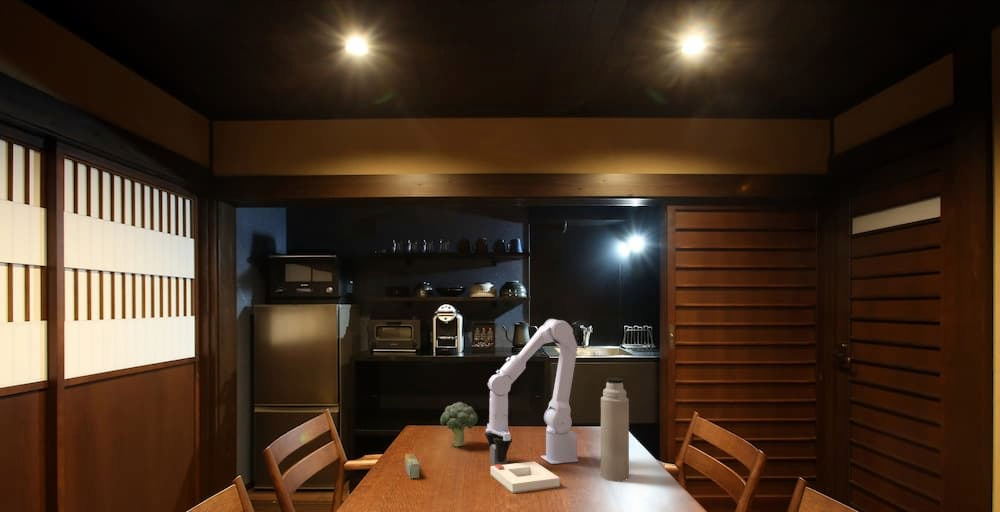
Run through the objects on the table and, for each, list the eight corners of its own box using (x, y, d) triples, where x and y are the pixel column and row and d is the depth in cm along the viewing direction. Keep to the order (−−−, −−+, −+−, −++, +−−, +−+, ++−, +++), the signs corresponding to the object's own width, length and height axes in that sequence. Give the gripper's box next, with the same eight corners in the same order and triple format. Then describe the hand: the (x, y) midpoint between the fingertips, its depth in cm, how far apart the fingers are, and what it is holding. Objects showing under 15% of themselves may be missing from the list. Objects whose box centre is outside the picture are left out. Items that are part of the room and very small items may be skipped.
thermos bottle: (603, 471, 168) (603, 375, 170) (630, 474, 165) (630, 377, 167) (598, 479, 160) (598, 379, 162) (627, 482, 158) (627, 381, 160)
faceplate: (534, 469, 169) (534, 459, 169) (559, 486, 154) (559, 475, 154) (490, 474, 163) (490, 464, 164) (512, 493, 149) (512, 481, 149)
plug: (501, 461, 177) (501, 443, 177) (506, 465, 173) (506, 446, 173) (489, 462, 175) (489, 444, 175) (494, 466, 171) (494, 447, 172)
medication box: (419, 479, 160) (420, 464, 160) (409, 479, 159) (410, 465, 159) (413, 466, 171) (413, 453, 171) (404, 467, 170) (404, 453, 171)
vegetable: (434, 444, 195) (435, 400, 195) (465, 439, 202) (466, 396, 203) (452, 453, 185) (453, 406, 186) (484, 446, 192) (485, 402, 193)
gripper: (478, 410, 180) (477, 453, 179) (495, 420, 167) (494, 467, 166) (498, 408, 183) (498, 451, 182) (517, 418, 169) (516, 464, 169)
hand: (498, 458), depth 174 cm, fingers open, 5 cm apart
